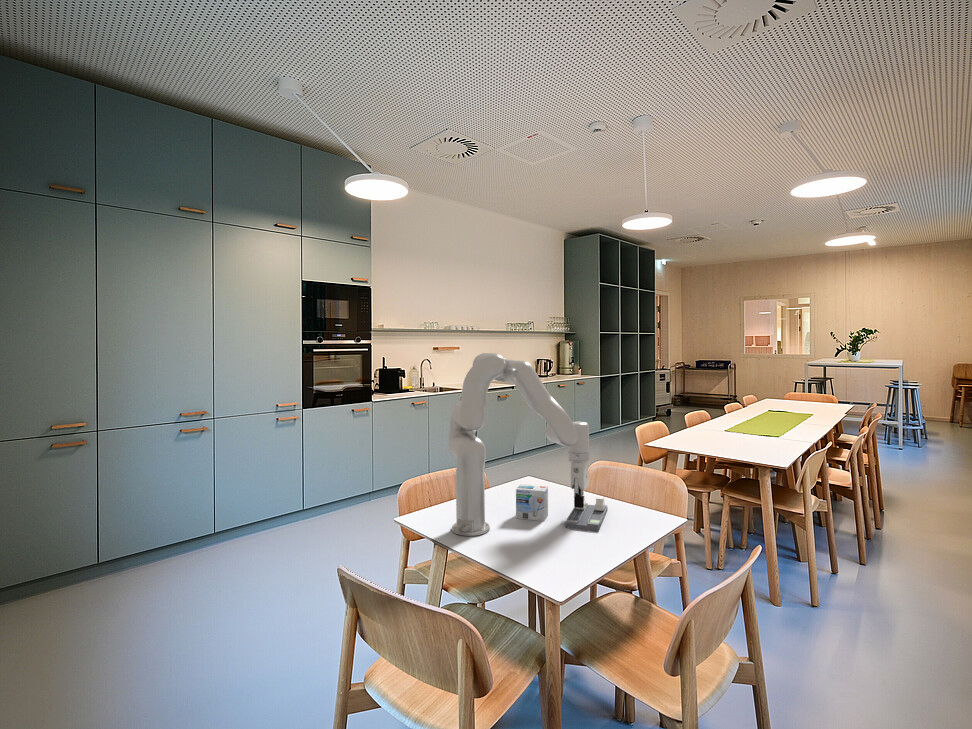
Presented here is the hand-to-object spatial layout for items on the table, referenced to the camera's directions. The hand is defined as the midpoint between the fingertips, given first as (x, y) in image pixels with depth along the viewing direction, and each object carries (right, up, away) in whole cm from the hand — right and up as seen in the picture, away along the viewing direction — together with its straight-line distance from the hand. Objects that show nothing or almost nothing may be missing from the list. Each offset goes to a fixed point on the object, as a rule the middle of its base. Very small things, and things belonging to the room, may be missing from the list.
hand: (579, 506), depth 181 cm
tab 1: (+1, -1, +3) cm, 4 cm away
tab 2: (+8, -1, +1) cm, 8 cm away
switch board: (+2, -3, -3) cm, 5 cm away
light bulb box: (-17, -4, -1) cm, 17 cm away
